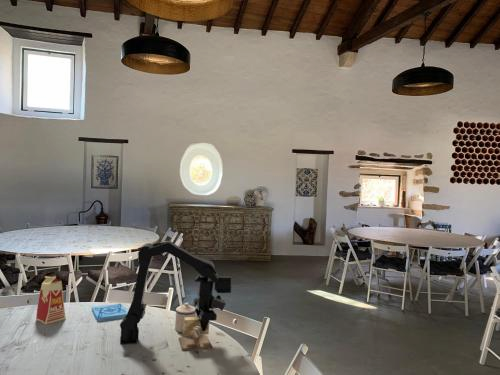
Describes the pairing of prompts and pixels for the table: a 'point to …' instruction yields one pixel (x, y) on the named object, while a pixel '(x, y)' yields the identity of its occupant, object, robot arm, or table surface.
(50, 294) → the milk carton
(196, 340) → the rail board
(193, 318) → the tan notched block
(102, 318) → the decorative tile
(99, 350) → the table surface
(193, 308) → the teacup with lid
